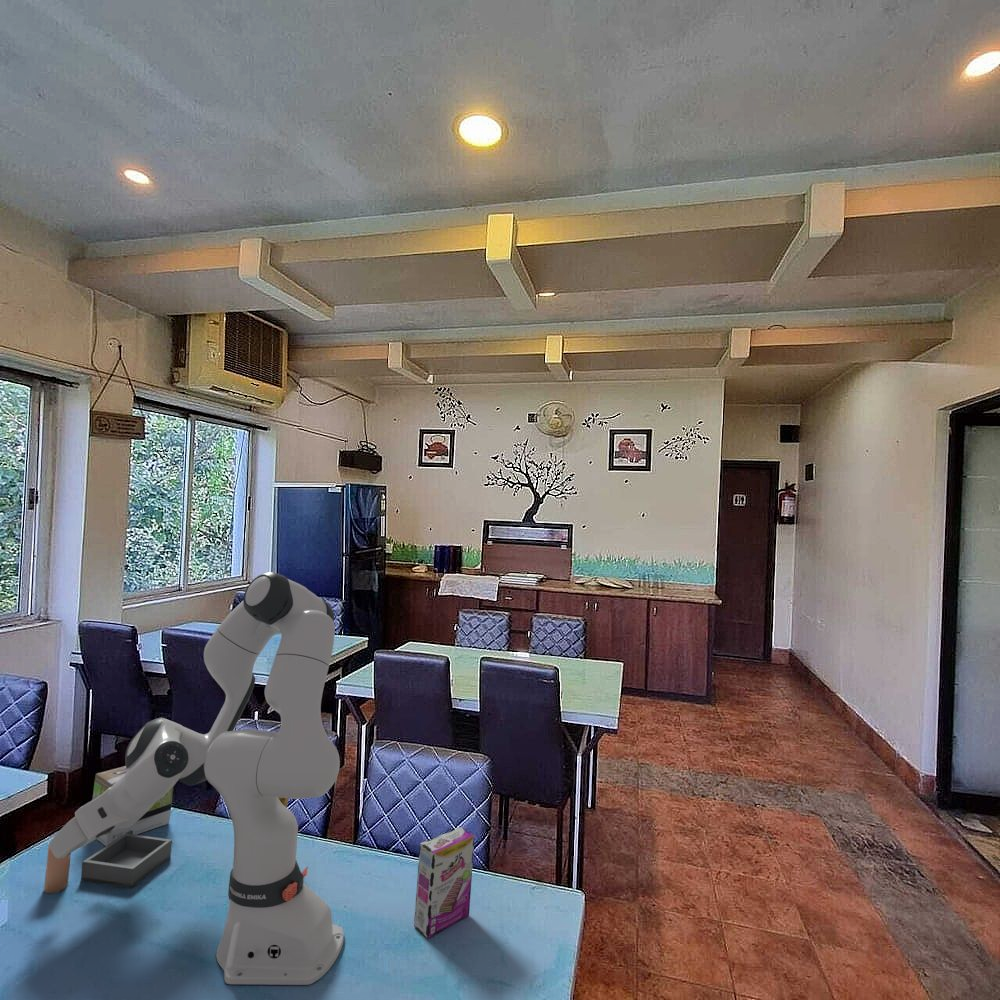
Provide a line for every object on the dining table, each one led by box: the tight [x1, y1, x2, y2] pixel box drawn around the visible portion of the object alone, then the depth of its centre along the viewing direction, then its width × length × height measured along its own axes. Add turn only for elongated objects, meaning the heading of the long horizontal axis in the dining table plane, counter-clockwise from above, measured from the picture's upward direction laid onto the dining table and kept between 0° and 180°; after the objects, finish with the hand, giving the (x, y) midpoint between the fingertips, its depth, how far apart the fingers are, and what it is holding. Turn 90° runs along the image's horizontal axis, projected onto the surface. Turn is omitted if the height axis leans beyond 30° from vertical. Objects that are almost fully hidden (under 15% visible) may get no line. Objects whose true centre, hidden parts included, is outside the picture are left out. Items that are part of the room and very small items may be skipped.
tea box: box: [91, 765, 174, 847], centre depth 146 cm, size 15×10×15 cm, turn 147°
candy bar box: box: [413, 826, 476, 939], centre depth 118 cm, size 11×5×16 cm, turn 135°
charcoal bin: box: [80, 833, 173, 889], centre depth 129 cm, size 12×12×4 cm
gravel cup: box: [43, 844, 72, 894], centre depth 121 cm, size 4×4×9 cm
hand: (86, 841), depth 121 cm, fingers open, 8 cm apart
